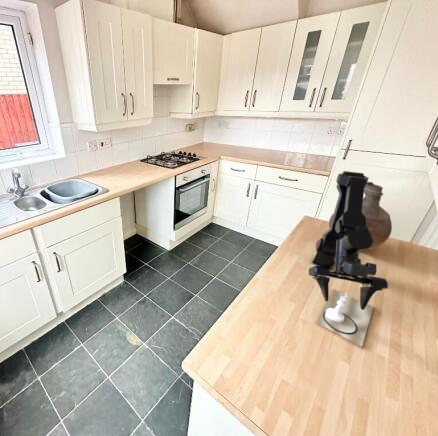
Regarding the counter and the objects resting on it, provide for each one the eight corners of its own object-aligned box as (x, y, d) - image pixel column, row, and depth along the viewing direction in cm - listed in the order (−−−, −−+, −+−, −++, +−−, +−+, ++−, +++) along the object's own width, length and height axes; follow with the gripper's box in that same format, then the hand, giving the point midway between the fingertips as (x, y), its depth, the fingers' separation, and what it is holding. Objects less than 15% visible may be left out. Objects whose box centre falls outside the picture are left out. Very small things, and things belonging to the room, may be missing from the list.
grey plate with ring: (318, 323, 77) (319, 322, 77) (334, 290, 89) (335, 289, 89) (361, 347, 70) (362, 345, 70) (372, 308, 82) (373, 306, 82)
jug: (374, 266, 101) (411, 200, 86) (316, 244, 115) (339, 185, 100) (383, 245, 113) (416, 185, 99) (329, 228, 127) (351, 173, 113)
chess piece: (344, 314, 79) (356, 291, 74) (343, 324, 76) (356, 302, 71) (326, 307, 82) (336, 285, 77) (325, 317, 78) (336, 294, 73)
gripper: (322, 244, 73) (318, 297, 70) (401, 258, 67) (401, 316, 63) (310, 251, 83) (305, 297, 80) (377, 263, 77) (375, 313, 74)
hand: (344, 305), depth 74 cm, fingers open, 9 cm apart
